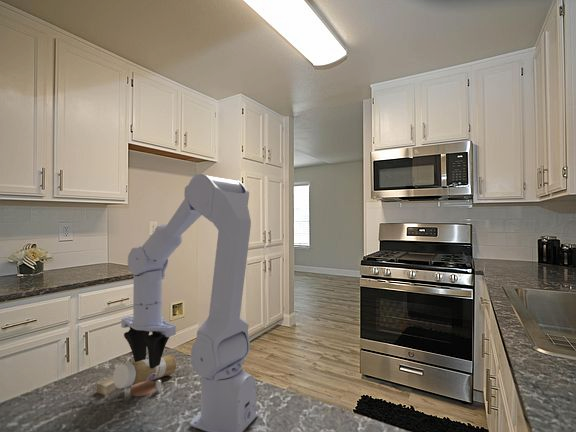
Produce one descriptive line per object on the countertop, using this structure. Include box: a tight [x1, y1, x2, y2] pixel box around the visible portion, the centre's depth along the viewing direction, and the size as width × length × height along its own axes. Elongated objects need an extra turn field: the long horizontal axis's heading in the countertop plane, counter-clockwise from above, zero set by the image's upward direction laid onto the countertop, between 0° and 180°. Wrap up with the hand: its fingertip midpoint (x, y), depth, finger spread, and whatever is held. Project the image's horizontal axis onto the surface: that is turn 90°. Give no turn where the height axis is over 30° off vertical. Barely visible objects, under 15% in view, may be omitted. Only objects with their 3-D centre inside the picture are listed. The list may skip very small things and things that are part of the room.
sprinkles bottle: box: [112, 354, 177, 390], centre depth 69 cm, size 5×5×14 cm
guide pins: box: [123, 378, 162, 400], centre depth 66 cm, size 9×5×2 cm, turn 65°
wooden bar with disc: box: [96, 375, 156, 397], centre depth 69 cm, size 11×11×2 cm
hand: (147, 364), depth 69 cm, fingers open, 4 cm apart
